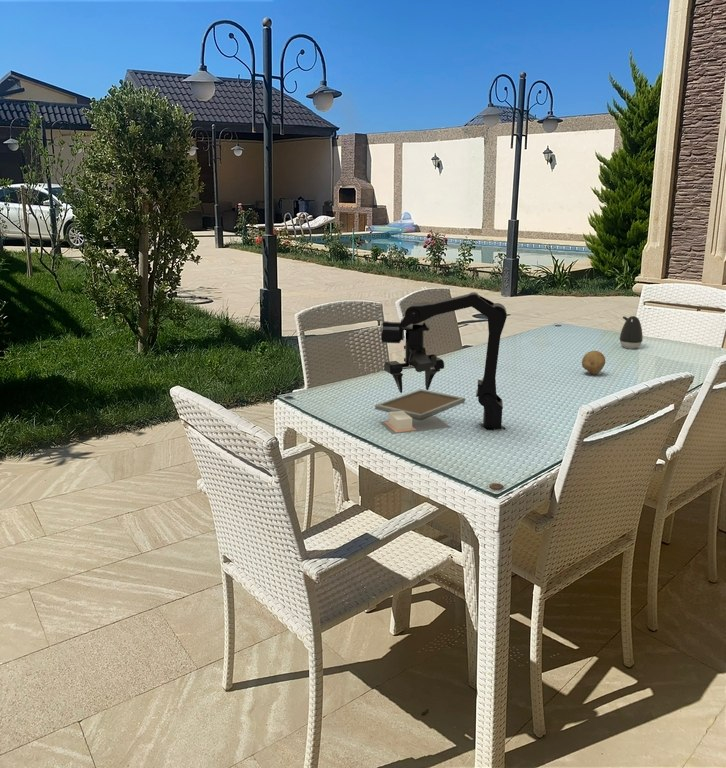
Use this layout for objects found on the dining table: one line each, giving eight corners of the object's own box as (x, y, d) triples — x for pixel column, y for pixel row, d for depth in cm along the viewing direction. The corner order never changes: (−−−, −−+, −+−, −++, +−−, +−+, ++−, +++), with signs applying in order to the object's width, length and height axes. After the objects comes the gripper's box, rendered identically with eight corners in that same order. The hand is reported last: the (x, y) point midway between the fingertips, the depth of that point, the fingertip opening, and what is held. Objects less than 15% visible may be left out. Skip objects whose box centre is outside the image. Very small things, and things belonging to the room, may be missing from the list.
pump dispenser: (625, 344, 351) (629, 313, 347) (645, 348, 343) (649, 316, 339) (614, 347, 345) (617, 315, 340) (634, 351, 337) (637, 319, 333)
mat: (451, 429, 231) (451, 426, 231) (392, 435, 225) (392, 433, 225) (435, 417, 242) (435, 415, 242) (379, 423, 236) (379, 421, 236)
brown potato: (590, 378, 291) (593, 354, 288) (576, 373, 299) (578, 349, 296) (608, 376, 294) (610, 352, 292) (593, 370, 302) (595, 347, 299)
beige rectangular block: (402, 421, 236) (402, 410, 235) (412, 428, 229) (412, 418, 228) (388, 422, 235) (388, 412, 234) (397, 430, 227) (397, 419, 226)
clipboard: (465, 397, 257) (416, 417, 235) (465, 402, 258) (415, 422, 235) (420, 388, 269) (370, 406, 247) (420, 393, 270) (370, 411, 247)
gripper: (397, 351, 219) (397, 401, 223) (452, 346, 225) (451, 394, 229) (383, 344, 229) (383, 391, 233) (437, 339, 235) (436, 385, 239)
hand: (414, 391), depth 233 cm, fingers open, 9 cm apart
